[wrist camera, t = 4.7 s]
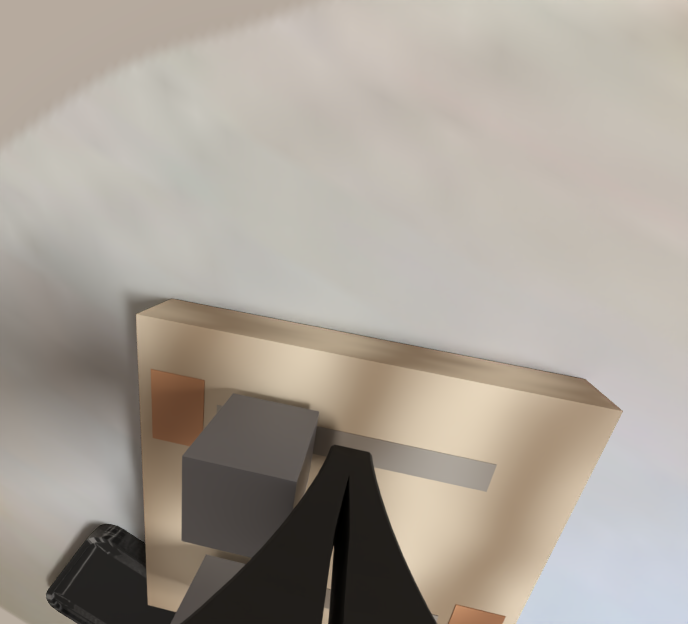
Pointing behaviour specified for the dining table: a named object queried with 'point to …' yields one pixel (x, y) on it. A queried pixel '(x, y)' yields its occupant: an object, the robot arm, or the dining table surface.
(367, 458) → the robot arm
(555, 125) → the dining table surface
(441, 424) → the switch board
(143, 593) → the phone
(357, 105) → the dining table surface
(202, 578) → the switch tab
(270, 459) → the switch tab
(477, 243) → the dining table surface
